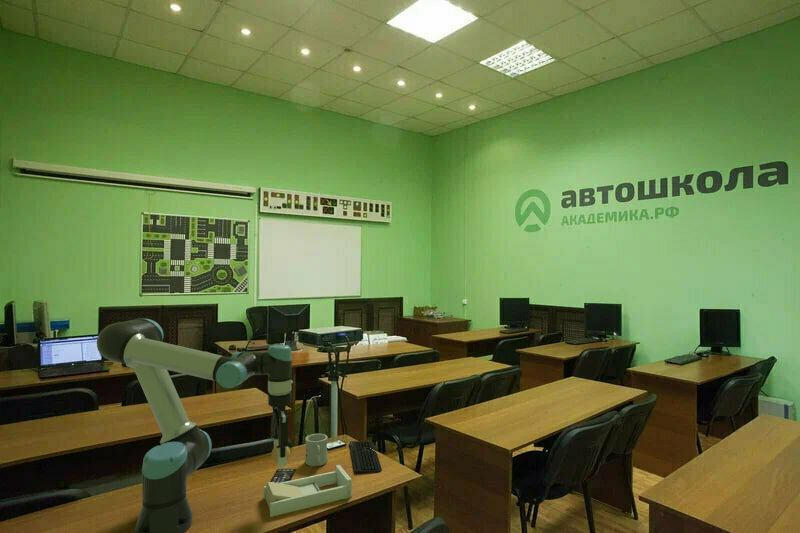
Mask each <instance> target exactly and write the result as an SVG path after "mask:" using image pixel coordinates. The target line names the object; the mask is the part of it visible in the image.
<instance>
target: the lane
mask: <svg viewBox="0 0 800 533" xmlns="http://www.w3.org/2000/svg"><path fill="white" fill-rule="evenodd" d="M352 482H353V481H352V478H351V477H350V476H349V474H348V473H347V471H345V469H344V468H343V467H342V466H341V464H337V465H335V470H333V471H329V472H325V473H319V474H316V475H311V476H306V477H302V478H297V479H291V481H286V482H282V483H273V482H270V481H267V483H266V485H264V486H263V500H265V501H266V503H267V507H268V509H269V517H270V518H273V517H276V516H280V515H283V514H288V513H292V512H297V511H301V510H305V509H307V508H308V509H309V508H312V507H317V506H320V505H324V504H329V503H332V502H337V501H342V500H344V499H348V498H352V494H353V493H352ZM334 484H337V486H336V487H331V488H328V489H323V490H322V489H320V488H321V487H322V488H323V487H325V486H330V485H334Z"/></svg>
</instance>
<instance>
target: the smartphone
mask: <svg viewBox="0 0 800 533" xmlns="http://www.w3.org/2000/svg"><path fill="white" fill-rule="evenodd" d="M296 470H297V469H296V468H278V469H277V468H276V471H275V472H274V473H273V475H272V476H271V479H270V480H269V482H273V483H282V482H286V481H291V480H293V476H294V475H295V474H296Z"/></svg>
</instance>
